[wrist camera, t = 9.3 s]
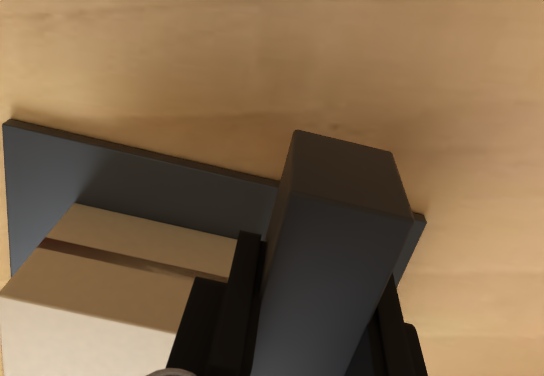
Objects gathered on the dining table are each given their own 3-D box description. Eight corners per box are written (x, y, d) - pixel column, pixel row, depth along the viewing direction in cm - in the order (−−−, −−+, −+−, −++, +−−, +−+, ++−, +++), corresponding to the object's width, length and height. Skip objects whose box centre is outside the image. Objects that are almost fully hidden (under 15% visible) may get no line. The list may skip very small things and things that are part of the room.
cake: (9, 118, 20) (-112, 198, 14) (424, 214, 21) (468, 327, 15) (23, 394, 29) (-49, 512, 23) (315, 453, 30) (316, 582, 24)
